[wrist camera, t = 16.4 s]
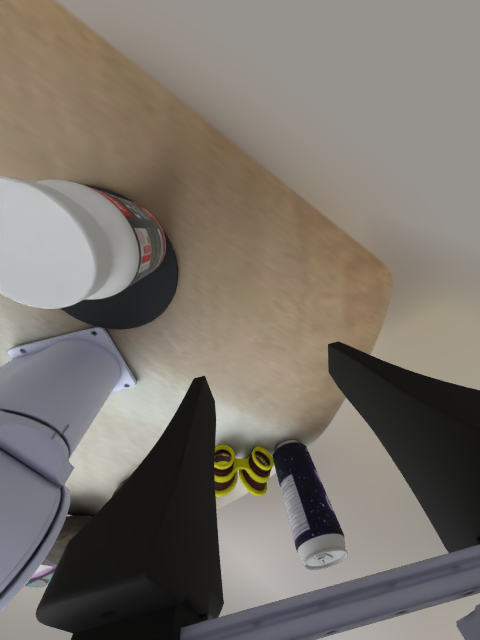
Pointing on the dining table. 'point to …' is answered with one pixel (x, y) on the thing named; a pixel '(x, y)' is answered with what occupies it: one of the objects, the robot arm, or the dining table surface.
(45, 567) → the toy
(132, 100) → the dining table surface
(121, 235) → the pill bottle
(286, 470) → the beverage can
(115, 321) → the mat
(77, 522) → the stone
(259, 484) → the opera glasses
